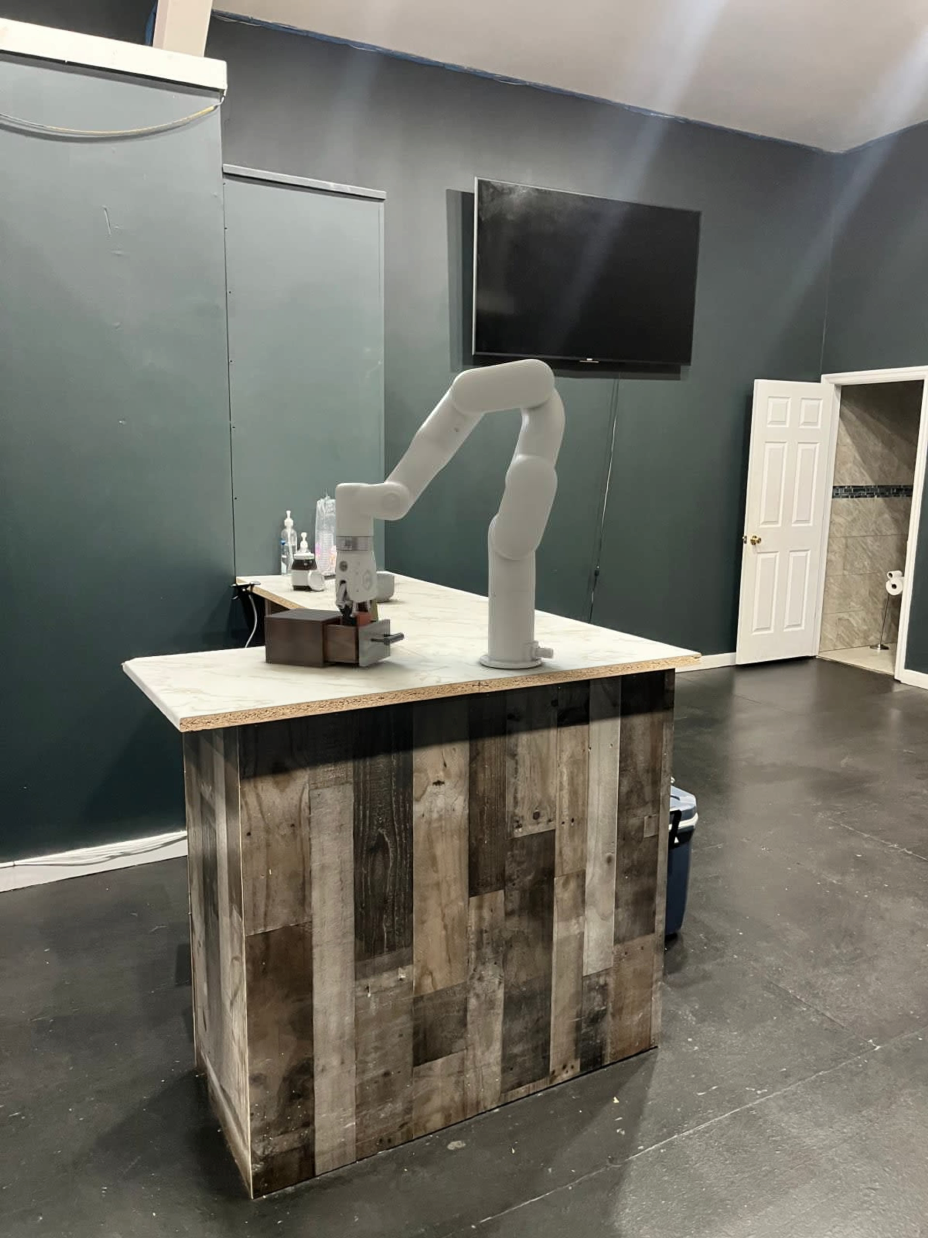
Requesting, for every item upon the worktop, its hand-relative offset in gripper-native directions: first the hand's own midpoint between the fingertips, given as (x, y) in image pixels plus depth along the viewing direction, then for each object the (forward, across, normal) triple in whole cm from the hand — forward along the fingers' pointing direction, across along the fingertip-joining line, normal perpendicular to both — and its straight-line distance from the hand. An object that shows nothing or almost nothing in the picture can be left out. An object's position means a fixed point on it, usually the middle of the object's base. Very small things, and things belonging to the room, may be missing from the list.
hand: (356, 633), depth 188 cm
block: (0, 0, 0) cm, 0 cm away
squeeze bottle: (+6, +19, +9) cm, 22 cm away
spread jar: (+6, +100, +73) cm, 124 cm away
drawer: (+5, 0, -1) cm, 5 cm away
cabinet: (+6, 0, +11) cm, 13 cm away
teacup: (+6, +85, +41) cm, 95 cm away
